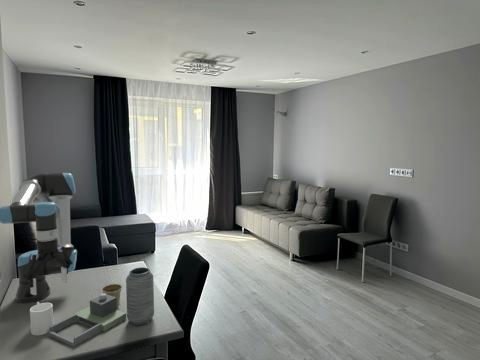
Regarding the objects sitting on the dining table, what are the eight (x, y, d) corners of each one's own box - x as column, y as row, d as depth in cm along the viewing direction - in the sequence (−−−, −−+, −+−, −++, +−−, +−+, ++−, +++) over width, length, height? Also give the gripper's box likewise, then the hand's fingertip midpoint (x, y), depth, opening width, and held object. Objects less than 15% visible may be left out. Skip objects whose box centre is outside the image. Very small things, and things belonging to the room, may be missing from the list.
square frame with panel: (44, 333, 134) (43, 309, 133) (96, 308, 156) (95, 287, 155) (75, 347, 125) (74, 322, 124) (126, 318, 147) (125, 296, 146)
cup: (49, 319, 146) (47, 298, 145) (56, 330, 137) (54, 307, 136) (27, 326, 140) (26, 303, 139) (33, 337, 132) (32, 314, 131)
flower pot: (115, 310, 154) (115, 293, 153) (98, 308, 156) (97, 291, 155) (126, 301, 163) (125, 284, 163) (109, 299, 165) (109, 283, 164)
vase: (128, 329, 138) (126, 277, 136) (126, 316, 148) (124, 268, 146) (156, 323, 142) (155, 273, 140) (152, 311, 153) (151, 264, 151)
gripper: (21, 248, 123) (24, 301, 125) (79, 233, 146) (81, 278, 148) (10, 245, 127) (13, 297, 129) (68, 231, 149) (70, 276, 151)
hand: (49, 287), depth 138 cm, fingers open, 13 cm apart
